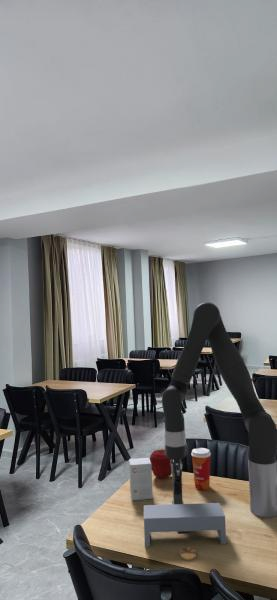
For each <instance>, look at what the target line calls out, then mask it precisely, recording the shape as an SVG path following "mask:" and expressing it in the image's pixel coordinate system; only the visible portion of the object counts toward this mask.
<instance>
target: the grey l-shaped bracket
mask: <svg viewBox="0 0 277 600" xmlns="http://www.w3.org/2000/svg"><path fill="white" fill-rule="evenodd" d="M171 477H172V478H171V479H172V500H171V504H185V503H184V500H183V483H182V484H181V494H178V495H176V494H175V492H174V477H173V476H172V475H171ZM176 480H179V479H176ZM176 532H179V533H180V531H176Z"/></svg>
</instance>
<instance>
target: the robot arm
mask: <svg viewBox="0 0 277 600" xmlns="http://www.w3.org/2000/svg"><path fill="white" fill-rule="evenodd" d="M192 314H193V315H192V316H193V317H192V320H191V325H190V330H189V333H188V336H187V340H186V341H185V344H184V345H183V348H182V350H181V352H180V354H179V356H178V358H177V360H176V363H175V366H174V368H173V371H172V378H171V380H170V382H169V385H168V386H167V388H166V389H165V390H164V391H163V392H162V396H161V404H162V410H163V416H164V450H165V455H166V457H168V458H170V459H171V460H170V464H171V472H172V474H171V477H172V476H173V477H174V492H175V494H176V495H178V494H181V484H182V485H183V481H182V480H183V479H182V478H183V477H182V476H183V470H182V469H183V462H182V459H185V457H186V456H187V441H186V440H187V437H186V429H185V427H186V425H185V417H184V414H183V411H182V410H183V409H182V403H183V401H184V399H185V397H186V395H187V393H188V392H187V391H188V390H189V387H190V383H191V380H192V379H193V376H194V373H195V371H196V370H197V366H198V363H199V360H200V357H201V355H202V352H203V349H204V346H205V344H206V342H207V341H208V344H209V346H210V349H211V351H212V352H211V353H212V356H213V359H214V361H215V364H216V368H217V369H218V371H219V374H220V375H221V378H222V380H223V382H224V383H225V385H226V388H227V389H228V390H229V392H230V394H231V395H232V397H233V398H234V400H235V402H236V404H237V406H238V408H239V411H240V414H241V416H242V419H243V423H244V425H245V428H246V430H247V432H248V450H247V463H248V483H249V506H250V507H249V508H250V509H249V510H250V512H251V513H252V514H254V515H255V516H257V517H259V518H260V517H261V518H274V517H277V425H276V422H275V421H274V419H272V417H271V416H270V415H269V414H268V413H267V411H266V410H265V408H264V407H263V405H262V403H261V402H260V400H259V398H258V396H257V394H256V391H255V388H254V385H253V381H252V378H251V375H250V372H249V369H248V367H247V365H246V363H245V361H244V359H243V357H242V355H241V353H240V351H239V349H238V348H237V347H236V345H235V343H234V342H233V340H232V339H231V337H230V336H229V334H228V331H227V329H226V327H225V324H224V322H223V318H222V315H221V312H220V308H218V306H217V305H216V304H214V303H213V302H209V301H208V302H206V301H205V302H202V303H200V304H198V305H197V306H195V309H194V310H193V313H192ZM176 479H179V480H176Z"/></svg>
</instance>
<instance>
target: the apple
mask: <svg viewBox="0 0 277 600" xmlns="http://www.w3.org/2000/svg"><path fill="white" fill-rule="evenodd" d="M149 459H150V462H151V466H152V475H153V476H155V477H156V478H157V479H159V480H165V479H168V478H170V476H172V472H171V464H170V460H171V459H170V458H168V457H166V455H165V449H161V448H160V449H156V450H153V451H152V452H151V454H150V456H149Z"/></svg>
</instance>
